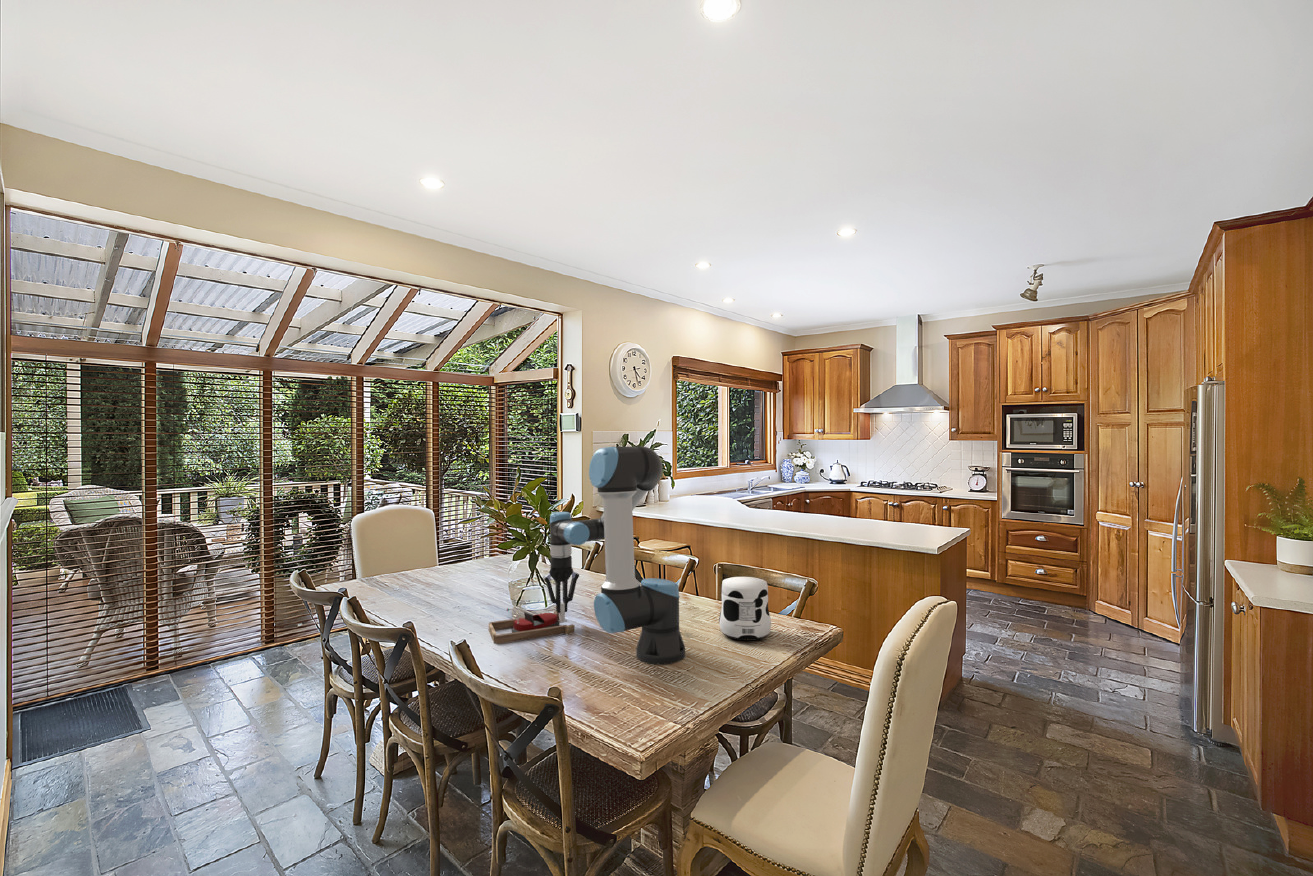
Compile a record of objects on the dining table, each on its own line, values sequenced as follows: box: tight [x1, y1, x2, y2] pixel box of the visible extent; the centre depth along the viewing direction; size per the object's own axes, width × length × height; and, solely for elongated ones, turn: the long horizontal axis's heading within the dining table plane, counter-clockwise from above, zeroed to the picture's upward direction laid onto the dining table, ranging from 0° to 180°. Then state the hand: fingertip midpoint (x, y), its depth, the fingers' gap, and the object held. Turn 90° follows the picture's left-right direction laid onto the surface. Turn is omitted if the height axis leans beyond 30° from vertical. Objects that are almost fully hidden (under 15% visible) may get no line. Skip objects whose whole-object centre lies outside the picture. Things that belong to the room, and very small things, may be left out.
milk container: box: [718, 576, 772, 641], centre depth 194 cm, size 17×17×18 cm
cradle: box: [488, 611, 576, 645], centre depth 201 cm, size 19×27×2 cm
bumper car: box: [506, 608, 560, 633], centre depth 202 cm, size 10×20×10 cm, turn 136°
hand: (561, 621), depth 206 cm, fingers closed
